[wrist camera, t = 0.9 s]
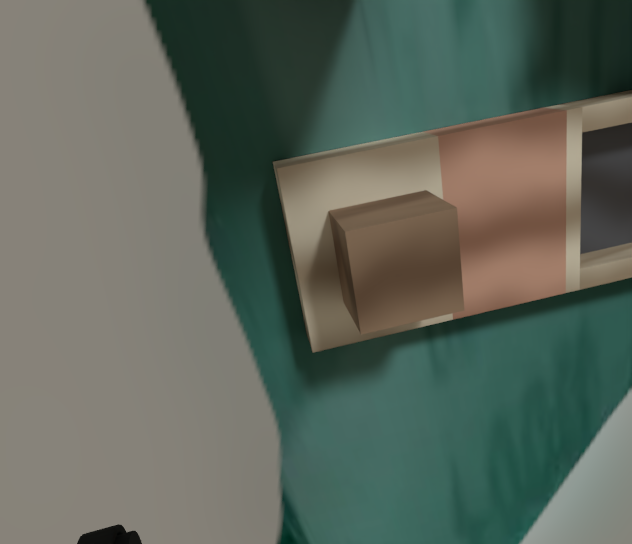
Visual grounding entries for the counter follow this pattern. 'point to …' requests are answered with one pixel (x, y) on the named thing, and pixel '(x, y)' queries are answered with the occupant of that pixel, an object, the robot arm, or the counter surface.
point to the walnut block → (398, 260)
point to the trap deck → (478, 206)
